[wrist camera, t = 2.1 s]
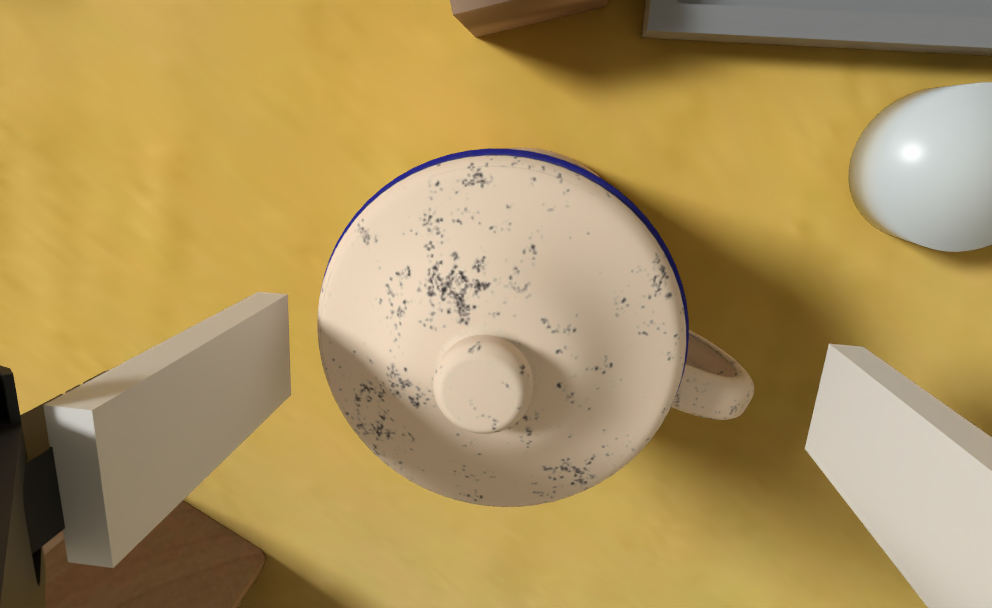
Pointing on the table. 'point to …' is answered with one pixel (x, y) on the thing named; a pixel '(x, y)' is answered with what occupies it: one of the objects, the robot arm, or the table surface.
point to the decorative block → (160, 569)
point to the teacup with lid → (512, 329)
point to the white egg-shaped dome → (929, 168)
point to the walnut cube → (515, 12)
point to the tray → (828, 23)
